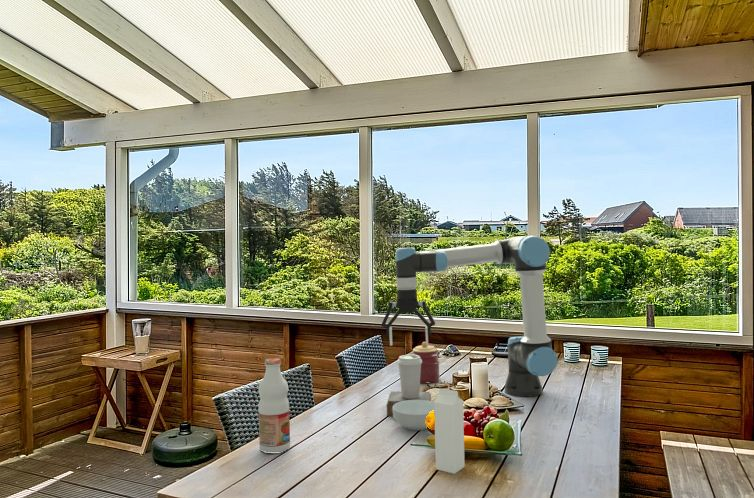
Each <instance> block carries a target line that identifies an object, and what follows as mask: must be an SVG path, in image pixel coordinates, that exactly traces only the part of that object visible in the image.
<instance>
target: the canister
mask: <svg viewBox="0 0 754 498" xmlns="http://www.w3.org/2000/svg"><path fill="white" fill-rule="evenodd" d="M437 351H438V348H437V347H435V346H433V345H429V344H428V345H426V341H423V342H422V343H421V345H417V346H415V347H414V348H413V349H412V353H411V354H410V355H418V356H420V358H421V359H422V363H421V373H420V384H427V383H426V382H430V383H429V384H433V383H434V384H435V383H437V382H439V381H440V360H439V356H440V354H439V353H438V352H437Z"/></svg>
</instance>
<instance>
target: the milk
mask: <svg viewBox="0 0 754 498" xmlns="http://www.w3.org/2000/svg"><path fill="white" fill-rule="evenodd" d="M433 402H434V415H435V425H434V445H435V446H434V447H435V451H434V453H435V470H437V471H438V470H439V471H441V472H445V473H449V474H452V475H453V474H454V475H455V474H457V473H458V472H459V471H461V470H462V469H464V468H465V464H466V463H465V434H464V433H465V431H464V429H465V425H464V399H462V398H461V397H459V392H458V390H454V389H446V388H438V395H437V396H436V398H435V399H434V401H433Z"/></svg>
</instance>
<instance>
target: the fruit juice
mask: <svg viewBox="0 0 754 498" xmlns="http://www.w3.org/2000/svg"><path fill="white" fill-rule="evenodd" d="M281 362H282V361H281V358H276V357H275V358H273V357H272V358H265V360H264V366H265V372H264V376H263V378H262V379H261V381H260V383H259V384H258V394H259V399H260V400H259V402H258V426H259V427H258V431H259V432H258V433H259V435H258V436H259V437H258V438H259V450H260V449H261V450H263V451H266V452H282V451H285V450H287V449H288V448H289V447H290V448H291V426H290V425H291V424H290V422H291V421H290V404H289V403H290V401H289V399H288V391H289V385H288V382H287V380H286V378H284V377H283V375H282V371H281ZM290 448H289V449H290ZM289 449H288V450H289ZM261 450H260V451H261ZM288 450H287V451H288ZM285 452H286V451H285ZM282 453H283V452H282Z"/></svg>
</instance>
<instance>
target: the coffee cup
mask: <svg viewBox="0 0 754 498" xmlns="http://www.w3.org/2000/svg"><path fill="white" fill-rule="evenodd" d="M396 363H397V364H398V370H399V371H398V372H399V381H400V389H401V390H400V392H402V397H403V398H407V399H414V398H418V397H419V392H420V389H421V387H420V386H421V383H420V373H421V363H422V359H421V358H420V356H418V355H411V354H403V355H399V356H398V359H397V362H396Z"/></svg>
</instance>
